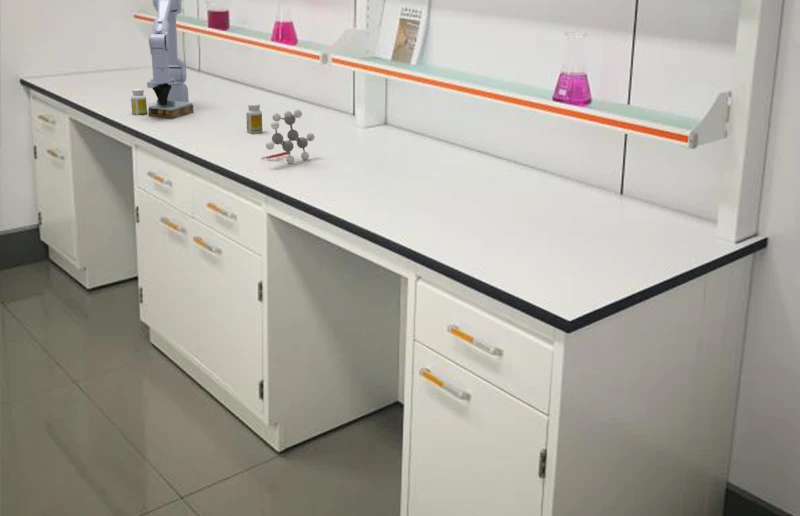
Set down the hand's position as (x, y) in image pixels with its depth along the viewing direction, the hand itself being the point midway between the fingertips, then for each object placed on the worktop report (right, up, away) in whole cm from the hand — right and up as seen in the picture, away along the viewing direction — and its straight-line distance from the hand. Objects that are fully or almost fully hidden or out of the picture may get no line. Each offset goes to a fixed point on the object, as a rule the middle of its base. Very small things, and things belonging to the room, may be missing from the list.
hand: (162, 105), depth 329 cm
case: (+2, -3, +6) cm, 7 cm away
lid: (+2, 0, +5) cm, 5 cm away
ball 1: (-1, -3, +3) cm, 5 cm away
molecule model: (+51, -26, -50) cm, 76 cm away
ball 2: (+2, -4, +2) cm, 5 cm away
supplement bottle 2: (+36, -12, -14) cm, 40 cm away
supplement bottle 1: (-10, -3, +6) cm, 12 cm away
